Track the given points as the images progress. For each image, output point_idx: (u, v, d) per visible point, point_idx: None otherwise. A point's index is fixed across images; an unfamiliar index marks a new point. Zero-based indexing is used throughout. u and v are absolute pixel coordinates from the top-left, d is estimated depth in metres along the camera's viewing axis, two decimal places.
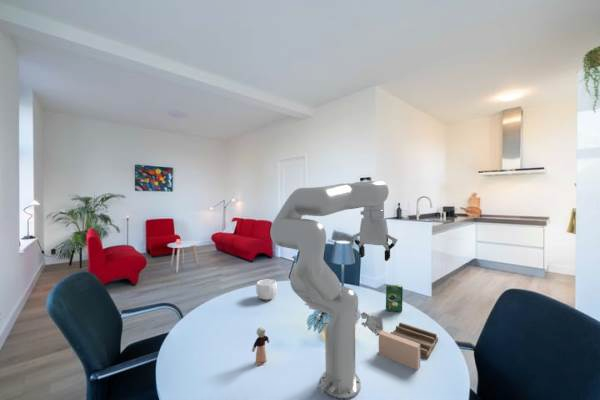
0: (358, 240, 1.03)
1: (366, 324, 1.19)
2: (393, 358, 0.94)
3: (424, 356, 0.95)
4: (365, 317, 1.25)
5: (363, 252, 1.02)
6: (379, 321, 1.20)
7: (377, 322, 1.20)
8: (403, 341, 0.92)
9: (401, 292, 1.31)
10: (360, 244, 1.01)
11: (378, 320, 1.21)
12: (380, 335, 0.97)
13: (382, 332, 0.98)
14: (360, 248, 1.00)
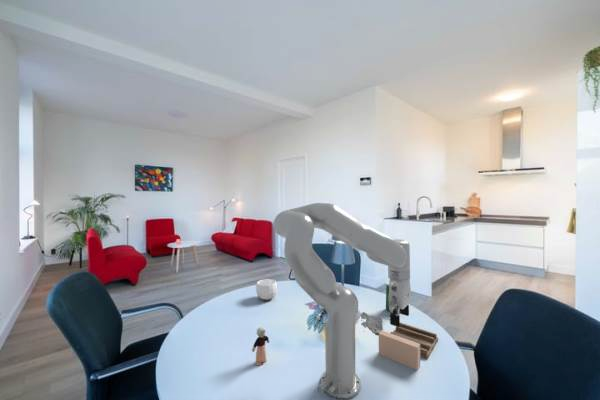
0: None
1: (366, 324, 1.19)
2: (393, 358, 0.94)
3: (424, 356, 0.95)
4: (365, 317, 1.25)
5: None
6: (379, 321, 1.20)
7: (376, 322, 1.20)
8: (403, 341, 0.92)
9: None
10: (398, 312, 0.89)
11: (378, 320, 1.21)
12: (380, 335, 0.97)
13: (382, 332, 0.98)
14: (399, 316, 0.89)
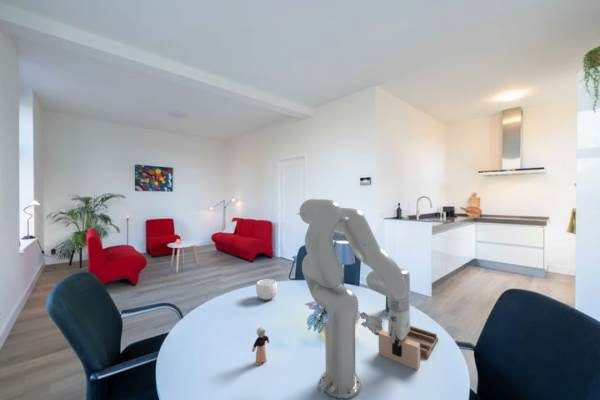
0: None
1: (366, 324, 1.19)
2: (393, 358, 0.94)
3: (424, 356, 0.95)
4: (364, 317, 1.25)
5: None
6: (379, 321, 1.20)
7: (376, 322, 1.20)
8: (403, 341, 0.92)
9: None
10: (400, 342, 0.91)
11: (378, 320, 1.21)
12: (380, 335, 0.97)
13: (382, 332, 0.98)
14: (401, 346, 0.91)
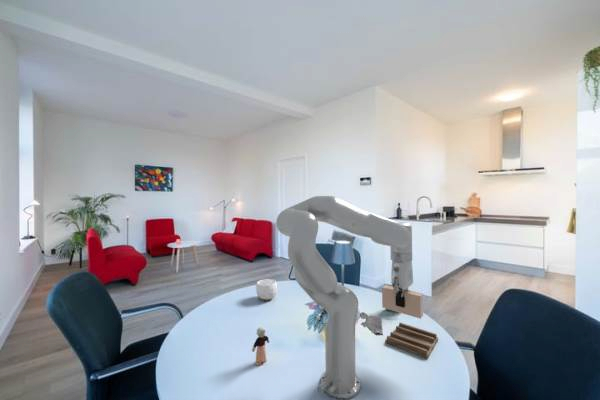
0: None
1: (365, 324, 1.19)
2: (396, 309, 0.95)
3: (424, 356, 0.95)
4: (364, 317, 1.25)
5: None
6: (378, 321, 1.20)
7: (376, 322, 1.20)
8: (406, 292, 0.93)
9: None
10: (403, 293, 0.93)
11: (377, 320, 1.21)
12: (383, 288, 0.98)
13: (385, 286, 0.99)
14: (404, 297, 0.93)
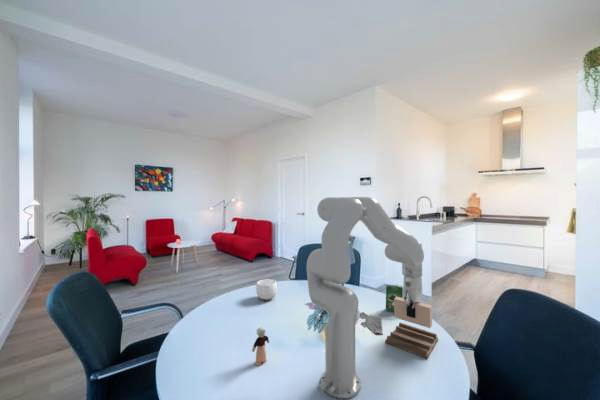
0: None
1: (365, 324, 1.19)
2: (408, 319, 1.05)
3: (424, 356, 0.95)
4: (364, 317, 1.25)
5: None
6: (378, 321, 1.20)
7: (376, 322, 1.20)
8: (416, 303, 1.03)
9: (401, 292, 1.31)
10: None
11: (377, 320, 1.21)
12: (395, 300, 1.08)
13: (397, 298, 1.09)
14: None
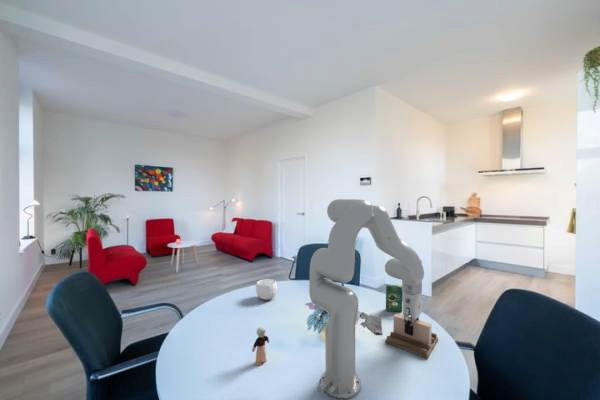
0: None
1: (365, 324, 1.19)
2: None
3: (424, 356, 0.95)
4: (364, 317, 1.25)
5: None
6: (378, 321, 1.20)
7: (375, 321, 1.20)
8: (416, 322, 1.03)
9: (401, 292, 1.31)
10: (412, 322, 1.01)
11: (377, 320, 1.21)
12: (395, 317, 1.08)
13: (396, 315, 1.09)
14: None
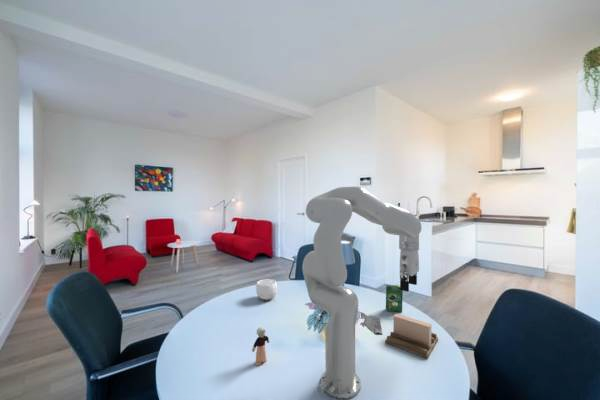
0: None
1: (364, 324, 1.19)
2: None
3: (424, 356, 0.95)
4: (363, 317, 1.26)
5: None
6: (377, 321, 1.21)
7: (375, 321, 1.20)
8: (416, 322, 1.03)
9: (401, 292, 1.31)
10: (407, 278, 1.00)
11: (376, 320, 1.21)
12: (395, 317, 1.08)
13: (396, 315, 1.09)
14: (408, 282, 1.00)
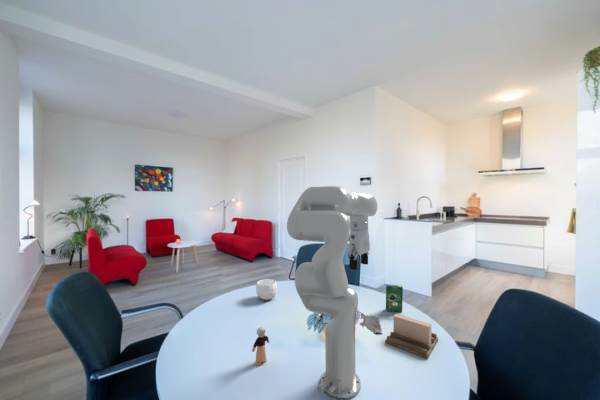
0: None
1: (364, 324, 1.19)
2: None
3: (424, 356, 0.95)
4: (361, 317, 1.26)
5: None
6: (376, 320, 1.21)
7: (374, 321, 1.20)
8: (416, 322, 1.03)
9: (401, 292, 1.31)
10: (356, 257, 1.03)
11: (375, 319, 1.22)
12: (395, 317, 1.08)
13: (396, 315, 1.09)
14: (356, 260, 1.03)
